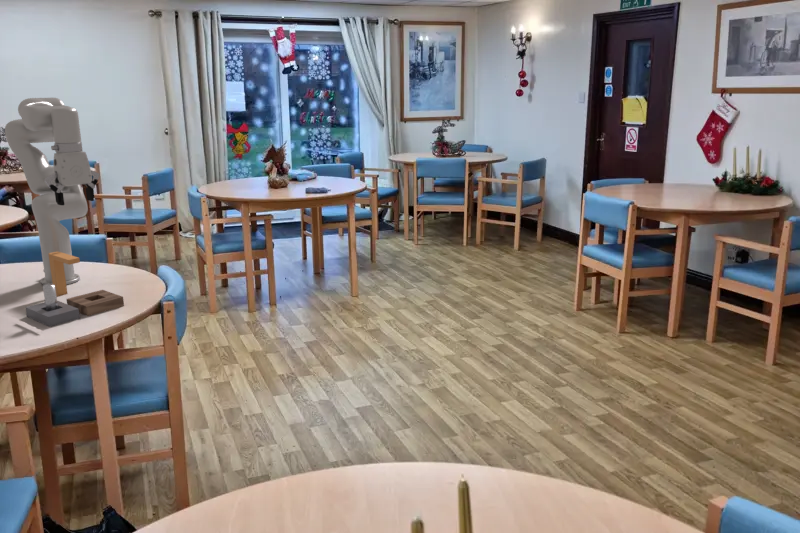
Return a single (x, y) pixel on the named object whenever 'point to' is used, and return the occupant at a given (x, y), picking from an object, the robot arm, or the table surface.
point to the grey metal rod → (50, 297)
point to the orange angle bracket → (60, 270)
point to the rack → (52, 314)
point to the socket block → (96, 302)
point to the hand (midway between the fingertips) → (75, 202)
